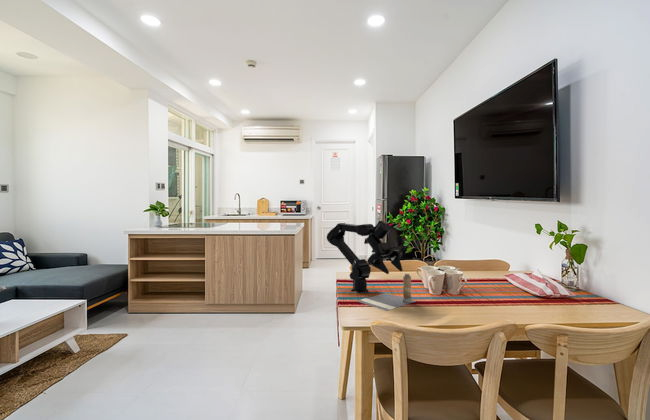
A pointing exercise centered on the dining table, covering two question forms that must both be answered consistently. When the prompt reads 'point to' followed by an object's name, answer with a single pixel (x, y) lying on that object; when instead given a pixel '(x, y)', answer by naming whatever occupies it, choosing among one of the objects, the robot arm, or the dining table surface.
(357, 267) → the robot arm
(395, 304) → the subfloor board
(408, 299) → the tan cylinder
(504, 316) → the dining table surface
